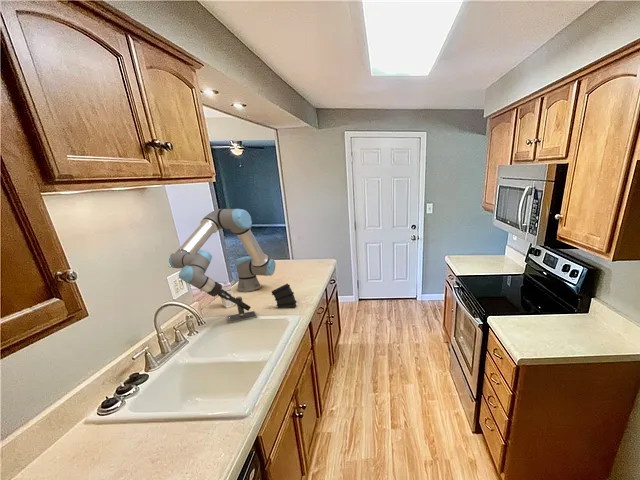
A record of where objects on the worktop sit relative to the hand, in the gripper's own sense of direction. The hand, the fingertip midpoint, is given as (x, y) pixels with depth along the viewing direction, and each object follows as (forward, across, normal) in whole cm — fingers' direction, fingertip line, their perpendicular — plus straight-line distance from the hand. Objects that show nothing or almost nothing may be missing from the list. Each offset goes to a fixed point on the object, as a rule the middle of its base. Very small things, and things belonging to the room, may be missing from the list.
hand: (247, 307), depth 189 cm
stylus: (0, 0, -5) cm, 5 cm away
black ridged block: (+19, +3, +11) cm, 22 cm away
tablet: (+1, 0, -6) cm, 6 cm away
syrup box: (+2, -26, -5) cm, 26 cm away
